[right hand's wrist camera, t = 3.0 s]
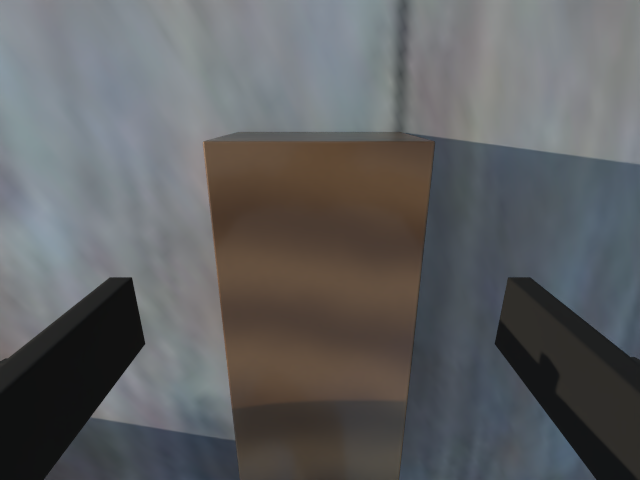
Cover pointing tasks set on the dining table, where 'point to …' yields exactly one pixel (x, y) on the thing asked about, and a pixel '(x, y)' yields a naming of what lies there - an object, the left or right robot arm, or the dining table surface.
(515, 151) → the dining table surface
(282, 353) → the thick board
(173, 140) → the dining table surface
